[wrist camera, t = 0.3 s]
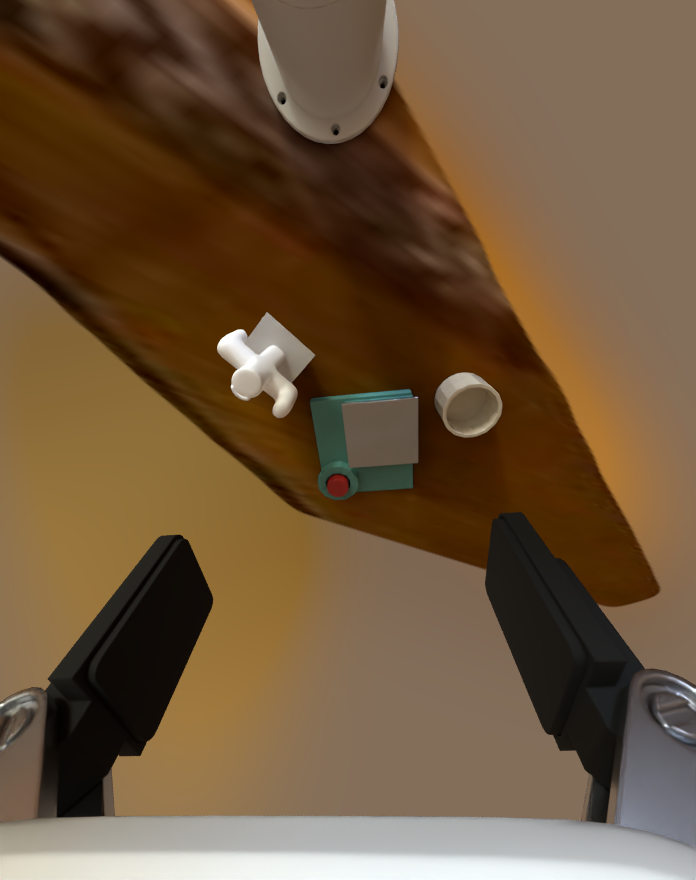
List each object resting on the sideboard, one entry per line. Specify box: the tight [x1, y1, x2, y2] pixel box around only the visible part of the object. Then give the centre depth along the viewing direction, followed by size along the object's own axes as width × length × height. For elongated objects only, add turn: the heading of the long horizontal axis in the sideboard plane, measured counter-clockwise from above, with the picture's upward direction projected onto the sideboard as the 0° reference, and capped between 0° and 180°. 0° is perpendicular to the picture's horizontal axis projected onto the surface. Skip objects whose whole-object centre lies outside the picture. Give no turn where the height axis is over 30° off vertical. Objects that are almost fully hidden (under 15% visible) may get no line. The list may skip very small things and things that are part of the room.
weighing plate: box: [341, 395, 418, 468], centre depth 45 cm, size 10×10×4 cm
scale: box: [310, 389, 413, 500], centre depth 47 cm, size 16×14×3 cm
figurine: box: [217, 313, 315, 418], centre depth 35 cm, size 7×9×15 cm
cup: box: [435, 373, 502, 438], centre depth 42 cm, size 7×7×5 cm
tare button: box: [327, 474, 349, 497], centre depth 48 cm, size 3×3×2 cm
